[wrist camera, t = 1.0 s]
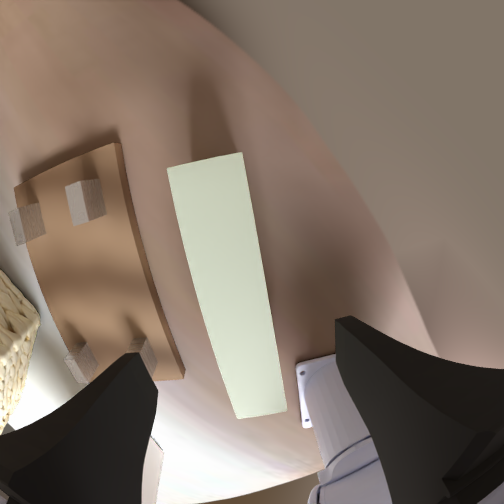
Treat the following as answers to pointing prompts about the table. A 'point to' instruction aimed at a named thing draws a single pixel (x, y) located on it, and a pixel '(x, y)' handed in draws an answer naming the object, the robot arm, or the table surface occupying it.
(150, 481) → the milk carton
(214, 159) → the door panel
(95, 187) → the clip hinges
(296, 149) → the table surface
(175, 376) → the mount plate
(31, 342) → the storage basket
